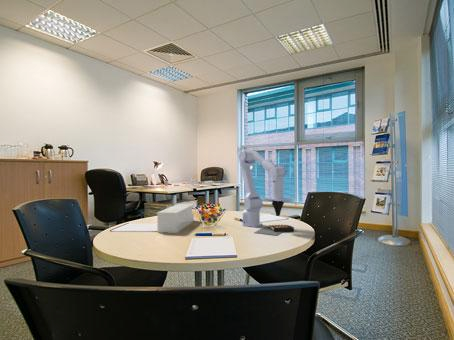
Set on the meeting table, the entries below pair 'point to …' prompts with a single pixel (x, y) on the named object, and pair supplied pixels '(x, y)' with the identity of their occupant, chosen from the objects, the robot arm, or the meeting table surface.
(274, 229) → the ammunition clip
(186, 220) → the light grey rectangular block
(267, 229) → the rubber mat
